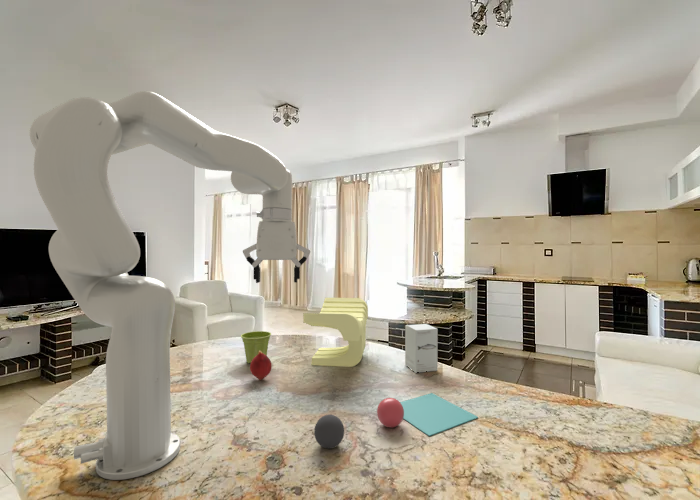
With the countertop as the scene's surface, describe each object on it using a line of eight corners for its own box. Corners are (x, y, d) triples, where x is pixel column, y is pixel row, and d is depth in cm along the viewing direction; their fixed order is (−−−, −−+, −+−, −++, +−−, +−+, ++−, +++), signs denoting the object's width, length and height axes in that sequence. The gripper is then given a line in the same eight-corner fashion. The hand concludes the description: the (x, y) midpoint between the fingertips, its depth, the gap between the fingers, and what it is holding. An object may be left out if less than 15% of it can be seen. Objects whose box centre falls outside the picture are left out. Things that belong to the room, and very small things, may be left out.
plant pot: (239, 359, 113) (239, 332, 113) (268, 355, 117) (267, 329, 116) (243, 368, 104) (243, 339, 104) (274, 363, 108) (274, 336, 108)
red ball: (387, 435, 66) (387, 407, 66) (371, 423, 71) (371, 396, 71) (409, 428, 69) (409, 401, 69) (393, 416, 74) (393, 391, 74)
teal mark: (429, 436, 66) (429, 435, 66) (386, 407, 78) (386, 406, 78) (478, 417, 73) (478, 416, 73) (431, 393, 85) (431, 392, 85)
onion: (274, 376, 98) (274, 348, 98) (267, 384, 92) (267, 354, 92) (254, 375, 98) (254, 347, 98) (246, 383, 92) (246, 353, 92)
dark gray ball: (322, 458, 59) (322, 427, 59) (309, 443, 64) (309, 413, 64) (349, 449, 62) (349, 418, 62) (335, 434, 67) (335, 406, 67)
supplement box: (415, 373, 99) (415, 330, 99) (404, 365, 106) (404, 324, 106) (438, 371, 101) (438, 328, 101) (426, 363, 108) (426, 322, 108)
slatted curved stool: (359, 377, 96) (358, 314, 96) (303, 375, 98) (303, 313, 98) (367, 346, 126) (367, 298, 126) (325, 345, 128) (325, 297, 128)
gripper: (240, 214, 85) (240, 283, 85) (310, 215, 87) (310, 283, 87) (245, 217, 92) (245, 281, 92) (310, 218, 94) (310, 280, 94)
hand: (277, 282), depth 90 cm, fingers open, 9 cm apart
